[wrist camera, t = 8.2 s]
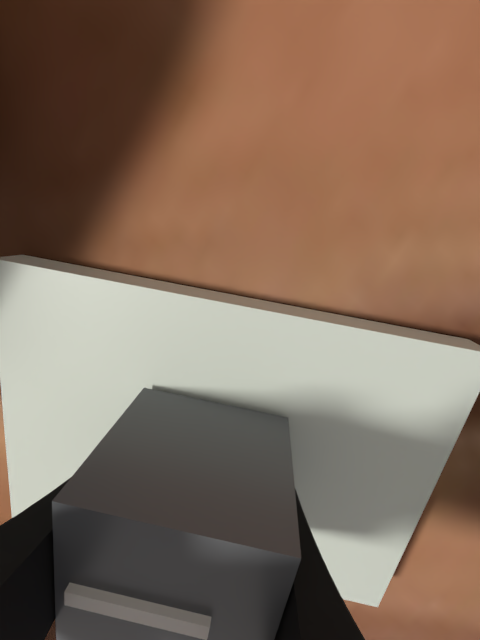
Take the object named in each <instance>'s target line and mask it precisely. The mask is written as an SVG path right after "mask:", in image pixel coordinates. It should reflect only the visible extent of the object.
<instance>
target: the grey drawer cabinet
mask: <svg viewBox="0 0 480 640" xmlns="http://www.w3.org/2000/svg"><path fill="white" fill-rule="evenodd" d="M52 521H53V554H54V587H55V620H56V640H274V639H275V636H276V633H277V630H278V627H279V624H280V621H281V618H282V615H283V612H284V609H285V606H286V603H287V600H288V597H289V594H290V591H291V588H292V585H293V582H294V579H295V576H296V573H297V570H298V567H299V564H300V561H301V550H300V539H299V528H298V517H297V506H296V496H295V485H294V474H293V463H292V452H291V442H290V431H289V420H288V417H283V416H278V415H273V414H268V413H264V412H259V411H254V410H249V409H244V408H240V407H235V406H230V405H225V404H220V403H216V402H211V401H206V400H201V399H196V398H192V397H187V396H182V395H177V394H172V393H167V392H163V391H158V390H153V389H148V388H143V389H142V391H141V392H140V393H139V394H138V396H137V397H136V398H135V399H134V401H133V402H132V403H131V404H130V405H129V407H128V408H127V409H126V410H125V412H124V413H123V414H122V415H121V417H120V418H119V419H118V420H117V421H116V423H115V424H114V425H113V426H112V428H111V429H110V430H109V431H108V433H107V434H106V435H105V436H104V438H103V439H102V440H101V441H100V442H99V444H98V445H97V446H96V447H95V449H94V450H93V451H92V452H91V454H90V455H89V456H88V457H87V459H86V460H85V461H84V462H83V463H82V465H81V466H80V467H79V468H78V470H77V471H76V472H75V473H74V475H73V476H72V477H71V478H70V479H69V481H68V482H67V483H66V484H65V486H64V487H63V488H62V489H61V491H60V492H59V493H58V494H57V496H56V497H55V498H54V499H53V500H52Z"/></svg>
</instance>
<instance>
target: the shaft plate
mask: <svg viewBox="0 0 480 640" xmlns="http://www.w3.org/2000/svg"><path fill="white" fill-rule="evenodd" d="M0 383H1V395H2V407H3V418H4V430H5V442H6V454H7V466H8V477H9V489H10V501H11V513H12V518H13V517H15V516H16V515H18V514H19V513H21V512H22V511H24V510H25V509H27V508H28V507H30V506H31V505H33V504H34V503H35V502H37V501H38V500H40V499H41V498H43V497H44V496H46V495H47V494H49V493H50V492H51V491H53V490H54V489H56V488H57V487H58V486H60V485H61V484H62V483H64V482H65V481H66V480H68V479H69V478H70V477H72V476H73V475H74V473H75V472H76V471H77V470H78V468H79V467H80V466H81V465H82V463H83V462H84V461H85V460H86V459H87V457H88V456H89V455H90V454H91V452H92V451H93V450H94V449H95V447H96V446H97V445H98V444H99V442H100V441H101V440H102V439H103V438H104V436H105V435H106V434H107V433H108V431H109V430H110V429H111V428H112V426H113V425H114V424H115V423H116V421H117V420H118V419H119V418H120V417H121V415H122V414H123V413H124V412H125V410H126V409H127V408H128V407H129V405H130V404H131V403H132V402H133V401H134V399H135V398H136V397H137V396H138V394H139V393H140V392H141V391H142V389H143V388H148V389H153V390H158V391H163V392H167V393H172V394H177V395H182V396H187V397H192V398H196V399H201V400H206V401H211V402H216V403H220V404H225V405H230V406H235V407H240V408H244V409H249V410H254V411H259V412H264V413H268V414H273V415H278V416H283V417H288V420H289V431H290V442H291V452H292V463H293V474H294V485H295V489H296V491H297V494H298V497H299V500H300V503H301V506H302V509H303V512H304V514H305V517H306V520H307V522H308V525H309V527H310V530H311V532H312V535H313V537H314V539H315V542H316V544H317V546H318V549H319V551H320V553H321V555H322V558H323V560H324V562H325V564H326V566H327V569H328V571H329V573H330V575H331V577H332V579H333V581H334V583H335V585H336V587H337V589H338V591H339V593H340V595H341V597H342V599H345V600H349V601H353V602H358V603H362V604H366V605H370V606H375V607H378V606H379V603H380V601H381V599H382V597H383V595H384V593H385V591H386V589H387V586H388V584H389V582H390V580H391V578H392V576H393V574H394V572H395V570H396V567H397V565H398V563H399V561H400V559H401V557H402V555H403V553H404V551H405V548H406V546H407V544H408V542H409V540H410V538H411V536H412V534H413V532H414V529H415V527H416V525H417V523H418V521H419V519H420V517H421V515H422V513H423V510H424V508H425V506H426V504H427V502H428V500H429V498H430V496H431V493H432V491H433V489H434V487H435V485H436V483H437V481H438V479H439V477H440V474H441V472H442V470H443V468H444V466H445V464H446V462H447V460H448V458H449V455H450V453H451V451H452V449H453V447H454V445H455V443H456V441H457V439H458V436H459V434H460V432H461V430H462V428H463V426H464V424H465V422H466V419H467V417H468V415H469V413H470V411H471V409H472V407H473V405H474V403H475V400H476V398H477V396H478V394H479V392H480V345H478V344H476V343H474V342H473V341H471V340H469V339H465V338H459V337H454V336H449V335H444V334H438V333H433V332H428V331H422V330H417V329H412V328H407V327H401V326H396V325H391V324H386V323H380V322H375V321H370V320H364V319H359V318H354V317H349V316H343V315H338V314H333V313H328V312H322V311H317V310H312V309H306V308H301V307H296V306H291V305H285V304H280V303H275V302H270V301H264V300H259V299H254V298H248V297H243V296H238V295H233V294H227V293H222V292H217V291H212V290H206V289H201V288H196V287H191V286H185V285H180V284H175V283H169V282H164V281H159V280H154V279H148V278H143V277H138V276H133V275H127V274H122V273H117V272H111V271H106V270H101V269H96V268H90V267H85V266H80V265H75V264H69V263H64V262H59V261H53V260H48V259H43V258H38V257H32V256H27V255H15V256H4V257H0Z"/></svg>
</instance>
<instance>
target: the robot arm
mask: <svg viewBox="0 0 480 640" xmlns="http://www.w3.org/2000/svg"><path fill="white" fill-rule="evenodd" d="M70 478H71V477H70ZM70 478H69V479H70ZM69 479H68V480H66V481H65V482H64V483H62V484H61V485H60V486H58V487H57V488H56V489H54V490H53V491H51V492H50V493H49V494H47V495H46V496H44V497H43V498H41V499H40V500H38V501H37V502H35V503H34V504H33V505H31V506H30V507H28V508H27V509H25V510H24V511H22V512H21V513H19V514H18V515H16V516H15V517H13V518H11V519H10V520H8V521H7V522H5V523H4V524H2V525H0V640H44V639H45V637H46V635H47V633H48V631H49V629H50V627H51V625H52V623H53V621H54V619H55V587H54V554H53V521H52V500H53V499H54V498H55V497H56V496H57V494H58V493H59V492H60V491H61V489H62V488H63V487H64V486H65V484H66V483H67V482H68V481H69ZM295 496H296V506H297V517H298V528H299V539H300V550H301V561H300V564H299V567H298V570H297V573H296V576H295V579H294V582H293V585H292V588H291V591H290V594H289V597H288V600H287V603H286V606H285V609H284V612H283V615H282V618H281V621H280V624H279V627H278V630H277V633H276V636H275V639H274V640H365V639H364V637H363V635H362V634H361V632H360V630H359V628H358V627H357V625H356V623H355V621H354V619H353V618H352V616H351V614H350V612H349V610H348V608H347V607H346V605H345V603H344V601H343V599H342V597H341V595H340V593H339V591H338V589H337V587H336V585H335V583H334V581H333V579H332V577H331V575H330V573H329V571H328V569H327V566H326V564H325V562H324V560H323V558H322V555H321V553H320V551H319V549H318V546H317V544H316V542H315V539H314V537H313V535H312V532H311V530H310V527H309V525H308V522H307V520H306V517H305V514H304V512H303V509H302V506H301V503H300V500H299V497H298V494H297V491H296V489H295Z"/></svg>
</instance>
